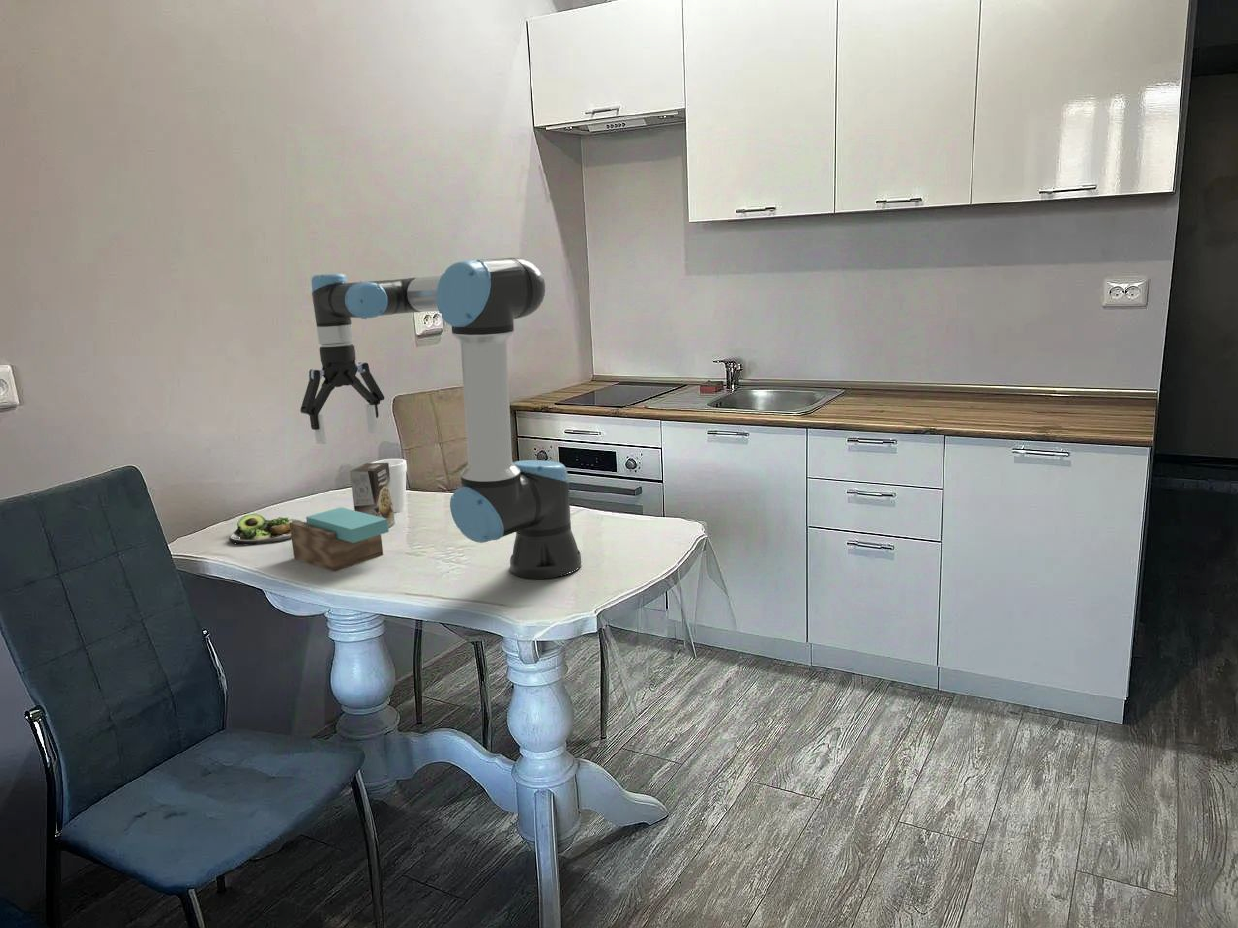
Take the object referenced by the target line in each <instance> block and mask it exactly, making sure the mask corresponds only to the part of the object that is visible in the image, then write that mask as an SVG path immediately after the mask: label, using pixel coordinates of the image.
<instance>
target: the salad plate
mask: <svg viewBox="0 0 1238 928" xmlns="http://www.w3.org/2000/svg"><path fill="white" fill-rule="evenodd" d="M294 521H297V522H301V523H304V524H307V521H302V520H301V519H297V518H296V519H295V518H291V519H289V517H281V516H279V517H278V518H273V519H271V520H270V519H269V520H268V519H265V517H264V516H262V515H260V514H257V513H251V514H245V515H244V516H242V517H241V518H240V519H238V521H237V523H236V525H237V529H235V531H234V532H233V533H232V534H231V535H230V537H229V542H231V543H232V544H234V543H236V544H235V545H238V544H252V545H258V544H257V543H261V544H269V542H270V543H275V542H282V541H286V540H287V541H288V540H292V538H291V531H290V522H294ZM283 534H287V535H283ZM277 535H281V536H277ZM272 536H274V537H272ZM239 537H240V539H239ZM270 537H271V538H270ZM268 538H269V539H268Z"/></svg>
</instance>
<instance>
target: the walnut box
mask: <svg viewBox="0 0 1238 928" xmlns="http://www.w3.org/2000/svg"><path fill="white" fill-rule="evenodd" d="M290 531H291V543H292V552H293V558H294V559H295V560H298V561H302V562H305V563H308V564H311V565H314V566H316V567H320V568H322V569H326V570H329V571H331V572H336V571H339V570H342V569H344V568H348V567H350V566H354V565H356V564H360V563H363V562H367V561H369V560H372V559H375V558H378V557H381V556H384V550H383V549H384V548H383V538H382V534H380V535H377V536H374V537H371V538H368V539H364V540H361V541H358V542H355V543H352V542H349V541H345V540H342V539H338V538H335V532H332V531H329V530H325V529H322V528H318V527H315V526H311V525H308V524H304V523H301V522H297V521H294V522H290Z"/></svg>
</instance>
